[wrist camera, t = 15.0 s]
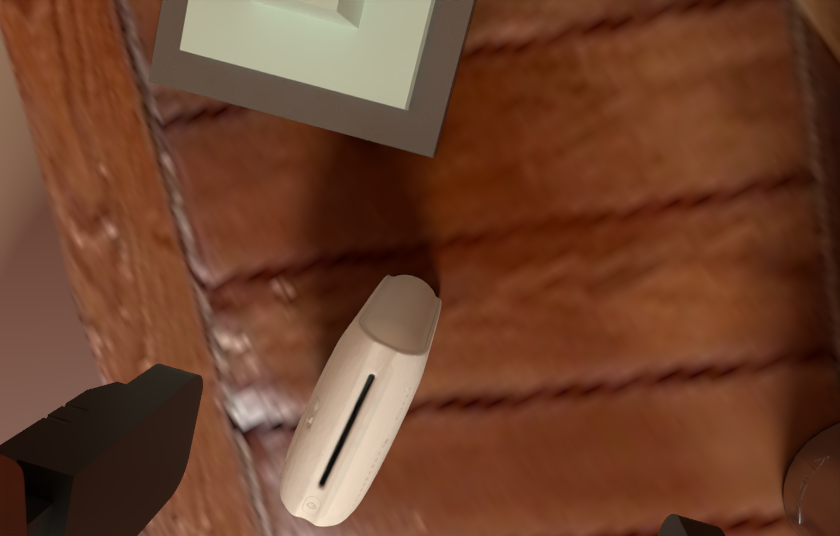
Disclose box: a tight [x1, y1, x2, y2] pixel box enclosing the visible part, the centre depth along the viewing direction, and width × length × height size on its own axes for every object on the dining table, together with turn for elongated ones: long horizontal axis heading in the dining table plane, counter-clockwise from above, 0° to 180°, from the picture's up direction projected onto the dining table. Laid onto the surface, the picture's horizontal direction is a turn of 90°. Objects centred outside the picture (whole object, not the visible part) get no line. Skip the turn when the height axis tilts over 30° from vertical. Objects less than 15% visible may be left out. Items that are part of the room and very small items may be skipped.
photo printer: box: [280, 275, 442, 526], centre depth 35 cm, size 10×4×12 cm, turn 155°
